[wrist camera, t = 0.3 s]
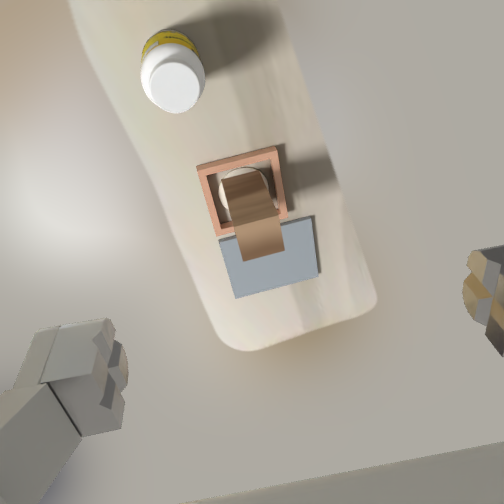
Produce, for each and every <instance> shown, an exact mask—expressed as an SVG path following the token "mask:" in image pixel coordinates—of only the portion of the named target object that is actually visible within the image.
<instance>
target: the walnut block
mask: <svg viewBox="0 0 504 504" xmlns="http://www.w3.org/2000/svg"><path fill="white" fill-rule="evenodd" d="M221 181H222V185H223V189H224V193H225V197H226V200H227V204H228V208H229V212H230V216H231V219H232V223H233V227H234V230H235V234H236V238H237V241H238V245H239V249H240V252H241V256H242V260H243V262H245V261H248V260H252V259H256V258H260V257H263V256H267V255H271V254H275V253H278V252H282V251H285V248H284V242H283V237H282V231H281V225H280V220H279V215H278V213H277V210H276V208H275V206H274V203H273V201H272V199H271V196H270V194H269V192H268V190H267V187H266V185H265V183H264V180H263V178H262V176H261V174H260V171H259V170H256V171H252V172H249V173H245V174H241V175H237V176H233V177H229V178H226V179H222V180H221Z"/></svg>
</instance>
